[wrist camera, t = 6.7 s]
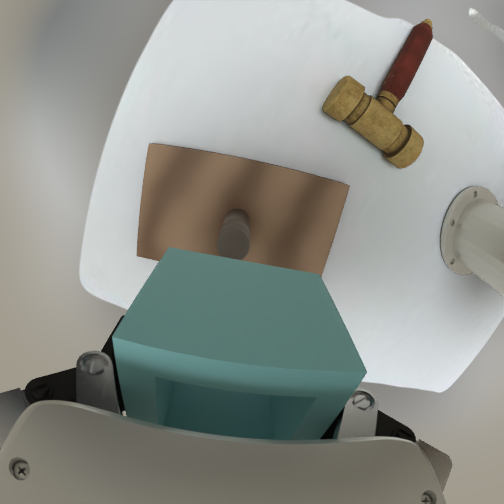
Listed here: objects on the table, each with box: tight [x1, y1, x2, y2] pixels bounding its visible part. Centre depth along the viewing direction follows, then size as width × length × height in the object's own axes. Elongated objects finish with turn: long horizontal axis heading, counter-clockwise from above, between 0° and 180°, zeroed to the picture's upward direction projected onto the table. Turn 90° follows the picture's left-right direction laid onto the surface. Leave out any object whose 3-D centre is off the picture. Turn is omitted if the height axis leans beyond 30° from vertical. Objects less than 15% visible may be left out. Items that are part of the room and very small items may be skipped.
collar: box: [112, 247, 367, 440], centre depth 10 cm, size 7×7×6 cm
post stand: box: [137, 143, 349, 277], centre depth 24 cm, size 20×12×8 cm, turn 78°
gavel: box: [323, 19, 433, 169], centre depth 21 cm, size 21×5×10 cm
